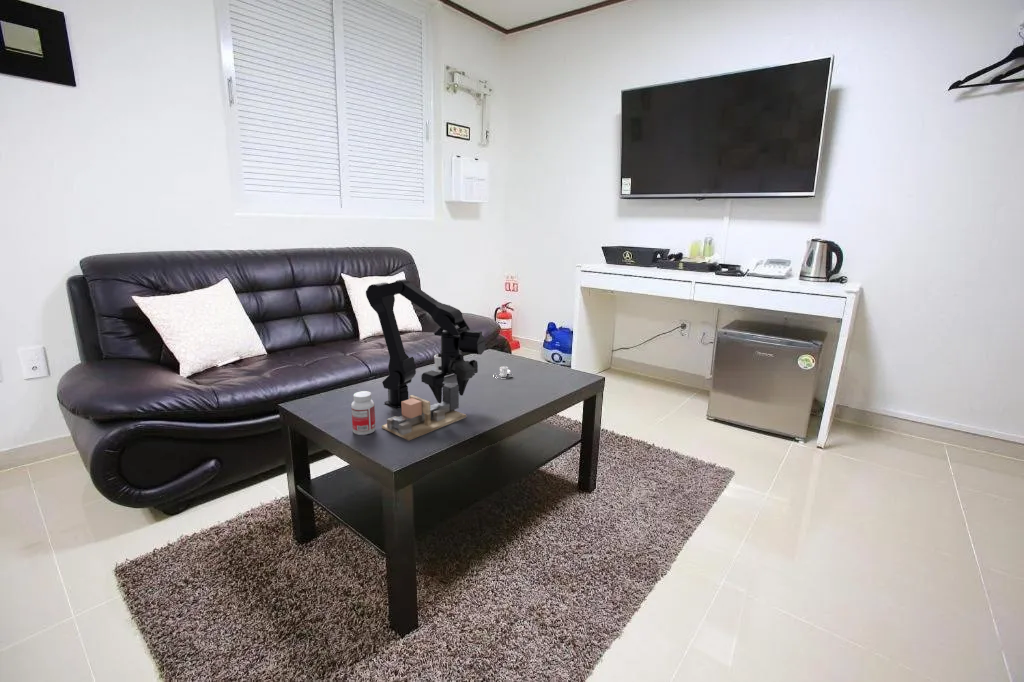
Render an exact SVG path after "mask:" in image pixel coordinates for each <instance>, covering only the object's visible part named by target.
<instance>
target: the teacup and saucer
mask: <svg viewBox="0 0 1024 682" xmlns="http://www.w3.org/2000/svg"><path fill="white" fill-rule="evenodd" d="M499 373H500V374H499V376H500V377H501V378H507V376H508V375H507V374H511V373H512V372H511V370H510V369H509V366H506V365H503V366H500V367H499ZM496 377H497V376H496ZM496 377H495V378H494V374H493V378H494V379H497V378H496Z"/></svg>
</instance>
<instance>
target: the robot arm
mask: <svg viewBox="0 0 1024 682" xmlns="http://www.w3.org/2000/svg"><path fill="white" fill-rule="evenodd" d="M395 295H401V296H402V297H404V299H406V300H408V301H409V302H411V303H412V304H414V305H415V306H417V307H418V308H419V309H421V310H423V311H424V312H426V313H427V314H428V315H429V316H430V317H431V318H432V321H433V322H434V323H435V324H436V325H437V326H438V327H439V328H438V329H437V331H435V332H434V333H433V335H434V336H438V337H440V352H438V353H437V354H438V357H441V366H438V370H441V372H436V370H432V369H431V370H428V371H425V372H423V373H422V374H421V375H420V376H421V383H424V384H426V385H428V387H429V388H430V390H431V392H432V394H433V395H434V398H435V399H436V402H437V403H441V402H442V401H443V386H444V385H446V384H445V383H444V382H445V378H449V377H451V375H452V376H454V375H455V376H456V381H457V382H456V383H457V385H459V396H464V393H465V390H466V387H467V386H468V383H469V380H470V379H472V378H473V377H474V376H475V374H477V373H478V370H479V369H478V365H479V364H478V361H477V360H475V359H472V360H470V361H469V360H465V359H464V357H465V356H464V353H465V354H472V355H473V354H474V355H480V356H481V355H483V353H484V351H485V348H486V341H485V337H484V335H483V331H481V330H475V331H474V330H471V328H470V327H469V325H468V324H467V322H466V321H465V319H464V317H463V312H462V311H461V310H460V309H458V308H456V307H454V306H451V305H450V304H446V303H442V302H440V301H438V300H437V299H435V298H434V297H432V296H431V295H429V294H427V293H426V292H425V291H424V290H422V289H421V288H420V287H419V288H418V287H417V286H416V285H414V284H413V283H412V282H410V280H408V279H398V280H395V281H393V282H389V283H388V282H379V283H375V284H374V283H373V284H371V285H369V286H367V289H366V290H365V296H366V298H367V302H368V303H369V305H370V307H371V308H372V309H373V310H374V311H375V312H376V314H377V316H378V320H379V322H380V327H381V330H382V334H383V337H384V342H385V344H386V349H387V351H388V355H389V361H388V366H387V368H388V369H387V370H388V376H387V377H386V378H385V379H384V380H382V386H383V388H384V389H387V396H388V400H385V401H384V404H385V405H387V406H390V407H392V408H395V409H398V408H402V407H401V402H402V401H405V400H408V399H410V398H409V389H408V388H409V386H408V384H410V383H412V380H413V378H414V377H415V375H416V373H417V371H416V369H418V367H417V366H416V363H415V358H414V356H411V357H409V355H408V354H407V353H406V352H405V348H404V344H403V340H402V337H401V334H400V333H401V332H400V330H399V325H398V322H397V318H396V315H395V312H394V307H395V302H396V299H395ZM461 352H462V353H461ZM448 376H449V377H448Z"/></svg>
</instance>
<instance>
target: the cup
mask: <svg viewBox="0 0 1024 682" xmlns="http://www.w3.org/2000/svg"><path fill="white" fill-rule="evenodd" d="M433 358H434V359H433V361H434V367H435V371H436V372H441V370H438V366H441V357H438V353H436V354H435V355H434V356H433ZM451 376H453V375H451ZM451 376H448V377H447V378H449V377H451Z"/></svg>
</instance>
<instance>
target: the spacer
mask: <svg viewBox="0 0 1024 682" xmlns="http://www.w3.org/2000/svg"><path fill="white" fill-rule="evenodd" d="M400 408H401V416H402V415H403V416H406V417H408V418H410V419H411V418H414V417H416V416H419V415H422V401H419V400H417V399H414V398H411V399H410V398H409V399H408V400H405V401H402V402H401V407H400Z"/></svg>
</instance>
